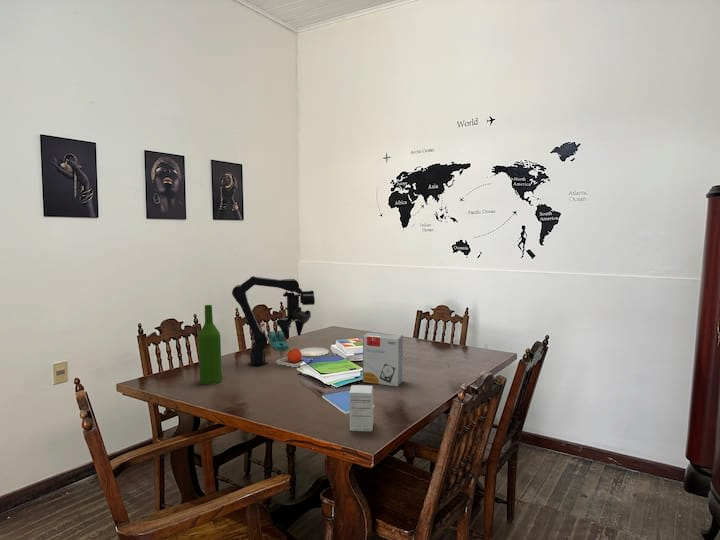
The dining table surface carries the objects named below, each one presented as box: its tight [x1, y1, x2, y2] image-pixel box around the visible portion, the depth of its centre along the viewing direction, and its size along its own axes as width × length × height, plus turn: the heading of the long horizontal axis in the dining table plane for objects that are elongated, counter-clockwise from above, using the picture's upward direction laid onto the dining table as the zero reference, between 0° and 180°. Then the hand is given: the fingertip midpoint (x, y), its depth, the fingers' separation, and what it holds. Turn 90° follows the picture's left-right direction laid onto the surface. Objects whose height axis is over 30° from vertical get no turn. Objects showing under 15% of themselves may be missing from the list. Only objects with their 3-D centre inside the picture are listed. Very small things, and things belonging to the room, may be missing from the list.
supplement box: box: [348, 384, 374, 432], centre depth 154 cm, size 7×7×13 cm
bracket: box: [268, 329, 289, 351], centre depth 261 cm, size 18×7×8 cm, turn 25°
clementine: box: [284, 348, 303, 364], centre depth 229 cm, size 8×7×7 cm
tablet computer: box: [321, 389, 375, 415], centre depth 177 cm, size 19×13×1 cm, turn 30°
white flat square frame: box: [275, 356, 303, 368], centre depth 229 cm, size 11×12×2 cm
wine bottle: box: [197, 304, 223, 385], centre depth 201 cm, size 9×9×32 cm
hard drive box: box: [362, 332, 404, 387], centre depth 199 cm, size 16×8×20 cm, turn 70°
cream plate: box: [299, 347, 330, 357], centre depth 247 cm, size 16×16×1 cm
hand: (293, 337), depth 230 cm, fingers open, 9 cm apart
